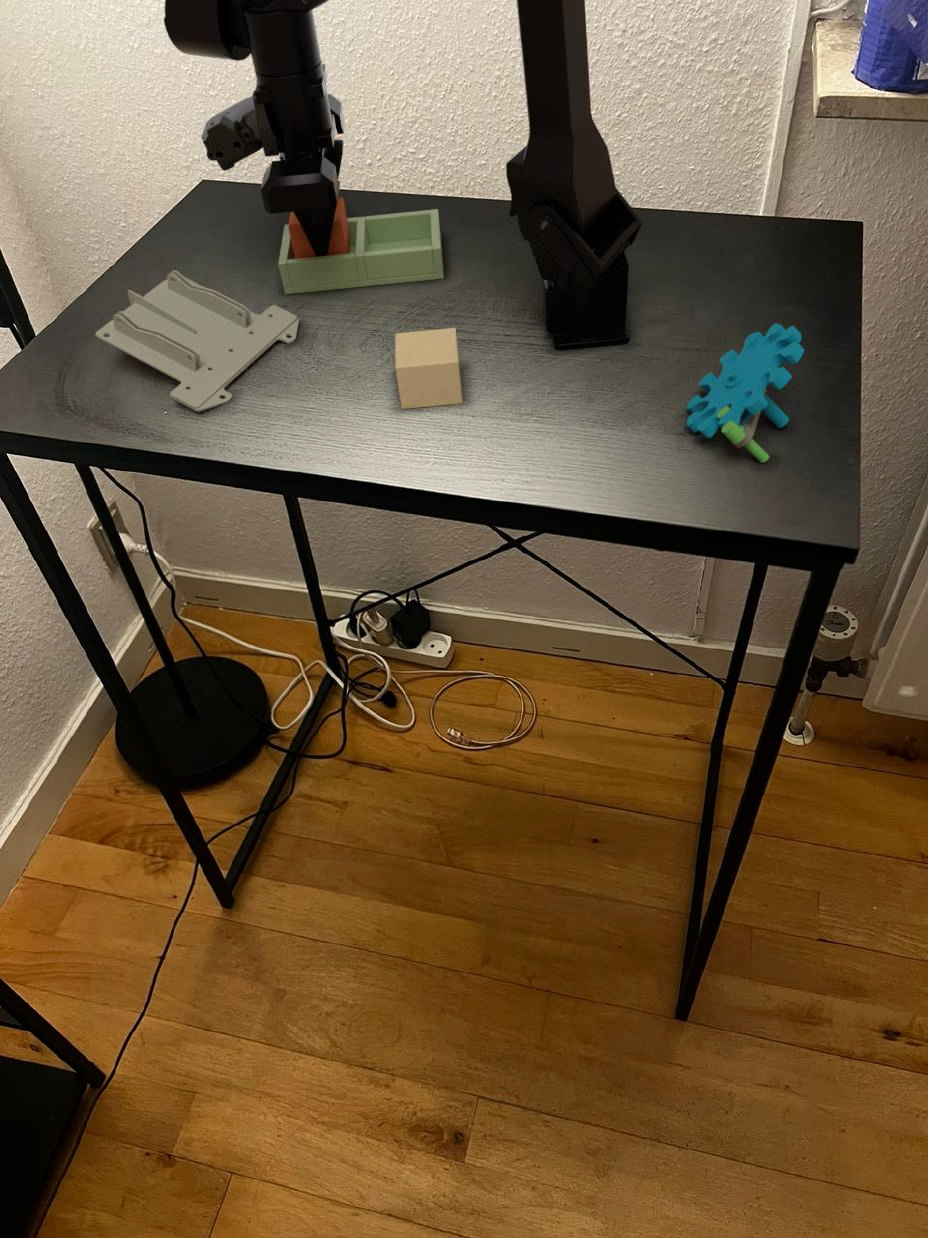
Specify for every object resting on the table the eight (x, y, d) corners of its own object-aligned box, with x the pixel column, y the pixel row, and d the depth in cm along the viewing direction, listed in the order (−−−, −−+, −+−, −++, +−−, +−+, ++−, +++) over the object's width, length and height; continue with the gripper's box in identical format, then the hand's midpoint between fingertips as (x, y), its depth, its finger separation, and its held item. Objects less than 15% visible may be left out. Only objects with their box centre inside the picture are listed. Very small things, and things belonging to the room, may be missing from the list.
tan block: (459, 369, 80) (455, 327, 77) (462, 403, 77) (458, 361, 74) (401, 374, 80) (395, 333, 77) (401, 409, 77) (395, 367, 74)
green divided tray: (441, 238, 96) (437, 208, 93) (443, 278, 90) (440, 247, 88) (291, 253, 96) (284, 224, 94) (285, 294, 91) (278, 264, 88)
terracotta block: (350, 236, 94) (343, 196, 91) (348, 261, 90) (341, 220, 87) (300, 241, 94) (291, 202, 91) (297, 266, 90) (287, 226, 87)
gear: (698, 356, 75) (804, 294, 67) (745, 404, 78) (852, 348, 70) (662, 455, 70) (772, 399, 62) (714, 503, 72) (826, 455, 64)
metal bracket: (66, 324, 78) (179, 241, 87) (77, 377, 83) (184, 293, 92) (208, 401, 77) (311, 308, 85) (212, 450, 81) (308, 358, 90)
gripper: (208, 37, 86) (250, 206, 98) (177, 117, 74) (230, 299, 85) (329, 24, 86) (357, 195, 97) (318, 102, 73) (351, 287, 85)
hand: (323, 241), depth 91 cm, fingers closed on terracotta block, 5 cm apart
